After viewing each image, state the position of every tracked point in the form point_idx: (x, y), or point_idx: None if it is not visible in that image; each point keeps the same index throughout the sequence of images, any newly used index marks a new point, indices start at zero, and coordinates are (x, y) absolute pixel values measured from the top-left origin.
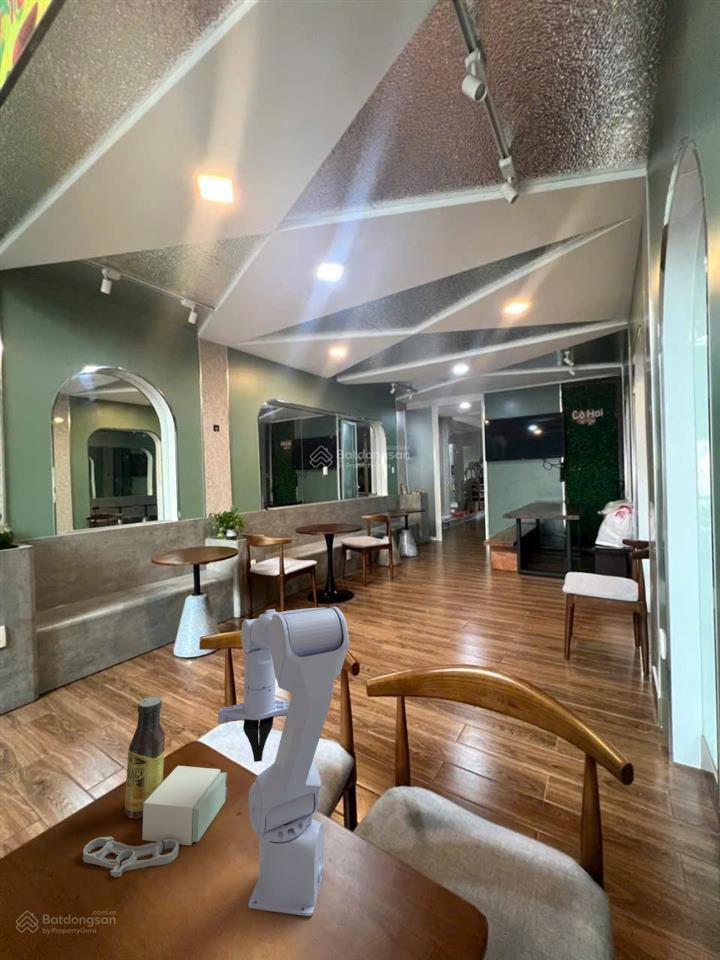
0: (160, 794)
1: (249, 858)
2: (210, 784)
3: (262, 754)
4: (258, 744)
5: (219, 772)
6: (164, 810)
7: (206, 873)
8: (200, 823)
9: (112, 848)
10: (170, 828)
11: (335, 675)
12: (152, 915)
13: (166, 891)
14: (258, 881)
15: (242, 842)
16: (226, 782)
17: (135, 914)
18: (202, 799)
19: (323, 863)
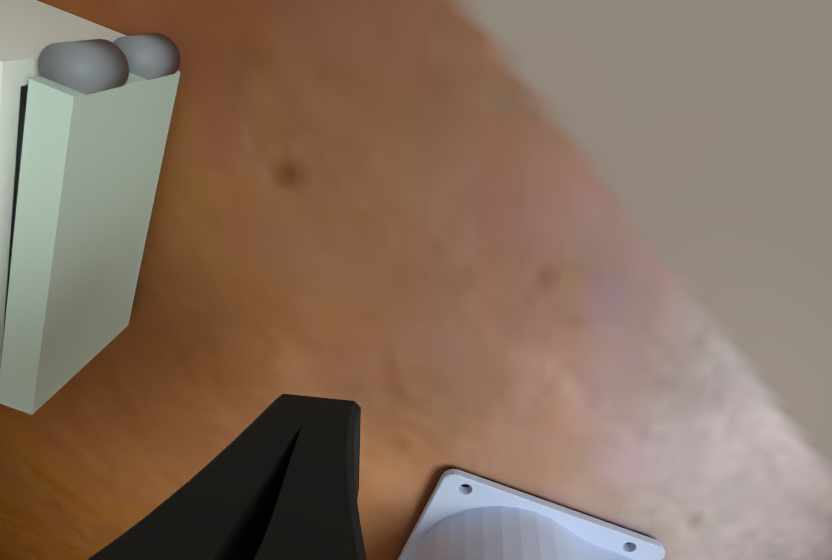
0: None
1: (372, 435)
2: (3, 218)
3: (358, 425)
4: (278, 492)
5: (14, 77)
6: None
7: (217, 449)
8: (91, 348)
9: None
10: None
11: None
12: (95, 528)
13: (100, 473)
14: (411, 547)
15: (333, 357)
16: (124, 79)
17: (41, 513)
18: (15, 346)
19: (662, 554)
